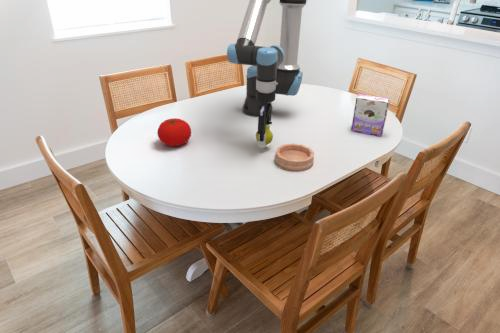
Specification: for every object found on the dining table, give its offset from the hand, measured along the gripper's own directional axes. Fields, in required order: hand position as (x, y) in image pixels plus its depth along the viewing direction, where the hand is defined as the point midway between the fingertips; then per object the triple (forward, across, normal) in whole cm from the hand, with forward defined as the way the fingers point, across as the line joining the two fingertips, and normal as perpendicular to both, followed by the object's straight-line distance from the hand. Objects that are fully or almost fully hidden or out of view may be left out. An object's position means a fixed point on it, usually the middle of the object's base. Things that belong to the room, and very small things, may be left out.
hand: (263, 142), depth 155 cm
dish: (+2, -8, -14) cm, 16 cm away
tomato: (+2, -7, +37) cm, 38 cm away
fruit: (+1, 0, 0) cm, 1 cm away
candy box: (+3, +29, -42) cm, 51 cm away
